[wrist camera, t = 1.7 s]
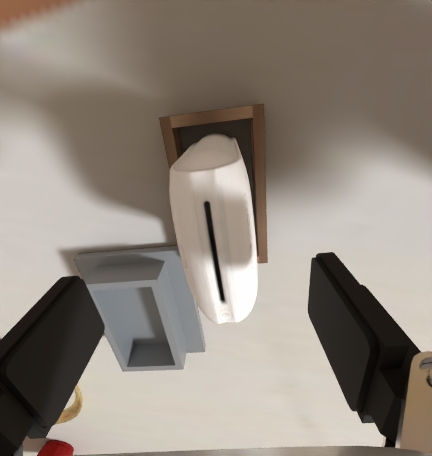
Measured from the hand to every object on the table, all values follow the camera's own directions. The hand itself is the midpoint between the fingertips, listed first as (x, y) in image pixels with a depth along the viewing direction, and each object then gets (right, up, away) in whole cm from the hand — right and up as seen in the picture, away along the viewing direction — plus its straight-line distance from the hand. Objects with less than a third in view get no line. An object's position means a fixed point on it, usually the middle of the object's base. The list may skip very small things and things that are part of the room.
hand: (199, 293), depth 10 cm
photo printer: (+1, +6, +13) cm, 14 cm away
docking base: (-8, -7, +19) cm, 22 cm away
